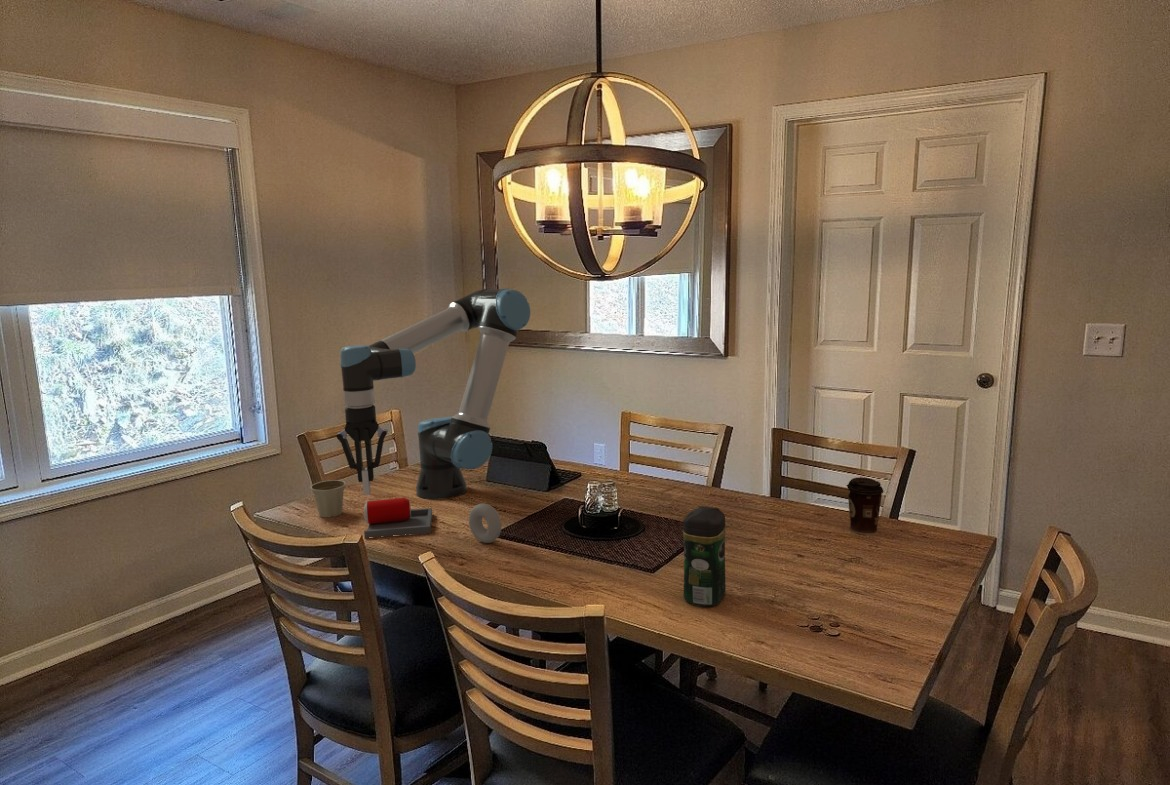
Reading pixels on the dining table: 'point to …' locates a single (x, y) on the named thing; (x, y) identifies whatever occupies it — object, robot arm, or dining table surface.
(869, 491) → the coffee cup
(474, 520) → the donut
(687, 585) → the coffee jar
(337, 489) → the flower pot
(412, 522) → the tray
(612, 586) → the dining table surface
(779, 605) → the dining table surface
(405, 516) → the beverage can
